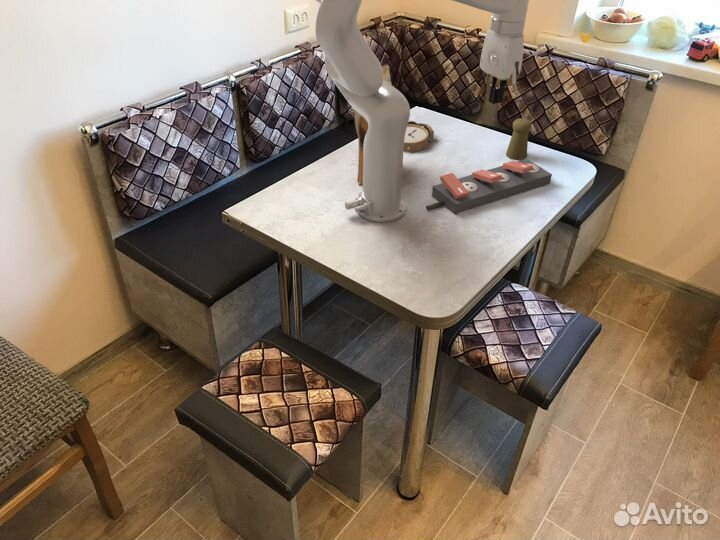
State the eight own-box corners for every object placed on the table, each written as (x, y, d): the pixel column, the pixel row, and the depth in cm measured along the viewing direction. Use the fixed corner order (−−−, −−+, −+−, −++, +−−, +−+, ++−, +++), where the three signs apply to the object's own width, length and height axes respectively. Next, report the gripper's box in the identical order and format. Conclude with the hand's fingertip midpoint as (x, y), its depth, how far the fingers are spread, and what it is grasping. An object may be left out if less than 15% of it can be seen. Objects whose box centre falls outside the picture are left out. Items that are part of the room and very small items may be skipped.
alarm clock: (382, 136, 183) (411, 112, 190) (383, 150, 186) (411, 125, 194) (414, 147, 177) (442, 122, 185) (414, 161, 181) (442, 136, 188)
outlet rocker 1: (455, 201, 155) (457, 195, 153) (439, 181, 159) (440, 175, 157) (466, 197, 156) (469, 192, 155) (450, 178, 160) (452, 172, 158)
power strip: (438, 219, 153) (439, 208, 151) (415, 200, 160) (416, 189, 157) (549, 183, 168) (552, 172, 165) (524, 168, 174) (526, 157, 172)
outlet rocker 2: (491, 185, 157) (490, 178, 156) (472, 179, 163) (471, 172, 163) (502, 182, 159) (501, 174, 158) (482, 176, 165) (482, 169, 164)
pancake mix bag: (342, 182, 166) (342, 81, 149) (383, 156, 179) (387, 59, 161) (362, 190, 163) (365, 87, 146) (402, 163, 175) (409, 65, 158)
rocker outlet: (522, 176, 161) (522, 168, 161) (502, 170, 168) (502, 163, 167) (532, 173, 163) (532, 165, 162) (513, 167, 169) (513, 160, 168)
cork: (528, 160, 178) (536, 125, 171) (507, 160, 178) (514, 124, 171) (524, 150, 183) (531, 116, 176) (504, 150, 183) (510, 115, 176)
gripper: (474, 19, 145) (464, 94, 157) (516, 37, 135) (503, 116, 146) (499, 15, 148) (488, 89, 160) (542, 32, 138) (527, 110, 149)
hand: (495, 101), depth 153 cm, fingers closed
